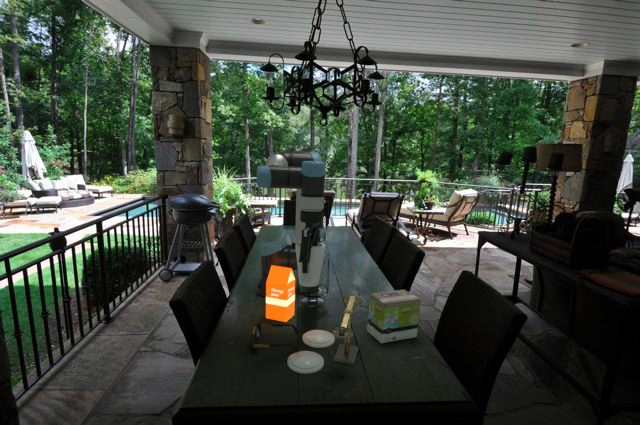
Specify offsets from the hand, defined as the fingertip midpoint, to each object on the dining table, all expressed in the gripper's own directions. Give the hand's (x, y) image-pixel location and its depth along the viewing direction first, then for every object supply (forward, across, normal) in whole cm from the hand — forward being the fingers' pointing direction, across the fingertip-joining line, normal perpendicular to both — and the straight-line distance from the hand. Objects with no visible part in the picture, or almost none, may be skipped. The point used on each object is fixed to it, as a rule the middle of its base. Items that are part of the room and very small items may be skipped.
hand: (310, 277), depth 118 cm
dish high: (+23, +3, -3) cm, 23 cm away
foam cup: (+2, 0, 0) cm, 2 cm away
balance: (+23, -4, -14) cm, 27 cm away
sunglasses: (+23, -3, +10) cm, 26 cm away
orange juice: (+22, +16, +16) cm, 32 cm away
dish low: (+23, -12, -3) cm, 26 cm away
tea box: (+23, +15, -27) cm, 38 cm away
